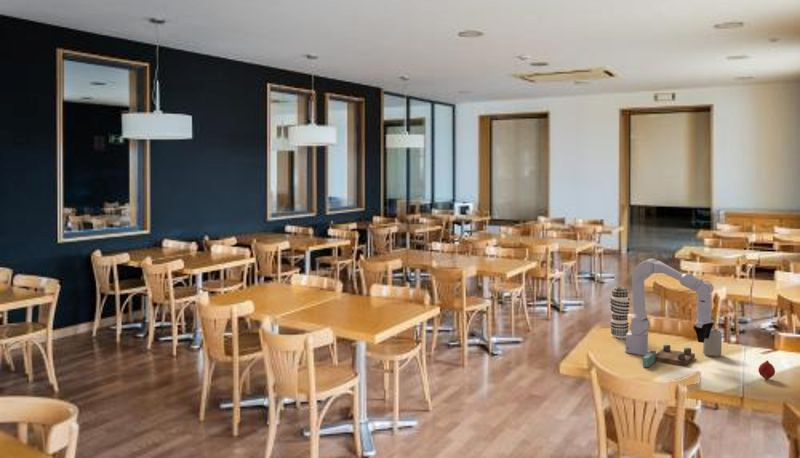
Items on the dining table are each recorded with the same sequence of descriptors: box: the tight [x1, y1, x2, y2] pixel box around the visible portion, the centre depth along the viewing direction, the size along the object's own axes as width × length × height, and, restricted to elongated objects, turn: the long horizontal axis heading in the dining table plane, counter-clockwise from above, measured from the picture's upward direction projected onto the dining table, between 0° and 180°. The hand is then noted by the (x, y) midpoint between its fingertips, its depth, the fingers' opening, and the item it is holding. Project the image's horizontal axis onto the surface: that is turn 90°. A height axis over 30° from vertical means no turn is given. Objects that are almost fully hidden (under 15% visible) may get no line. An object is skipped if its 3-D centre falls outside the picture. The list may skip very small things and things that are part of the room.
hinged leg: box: [642, 350, 657, 368], centre depth 290 cm, size 11×2×4 cm, turn 141°
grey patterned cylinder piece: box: [609, 285, 631, 339], centre depth 336 cm, size 9×9×25 cm
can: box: [702, 327, 723, 358], centre depth 301 cm, size 8×8×12 cm
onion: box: [757, 360, 776, 381], centre depth 267 cm, size 6×6×8 cm
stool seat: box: [656, 344, 696, 367], centre depth 296 cm, size 14×14×4 cm
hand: (703, 340), depth 290 cm, fingers open, 7 cm apart
